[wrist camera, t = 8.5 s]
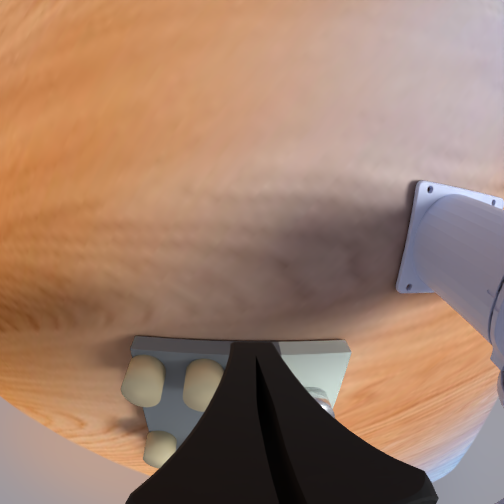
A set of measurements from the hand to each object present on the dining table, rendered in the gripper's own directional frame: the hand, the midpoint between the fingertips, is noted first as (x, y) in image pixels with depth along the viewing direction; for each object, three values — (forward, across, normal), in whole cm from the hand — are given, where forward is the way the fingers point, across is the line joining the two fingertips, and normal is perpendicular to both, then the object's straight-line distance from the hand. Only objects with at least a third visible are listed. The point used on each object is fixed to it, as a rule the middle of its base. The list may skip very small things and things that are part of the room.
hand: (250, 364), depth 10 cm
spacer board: (+9, 0, +14) cm, 16 cm away
